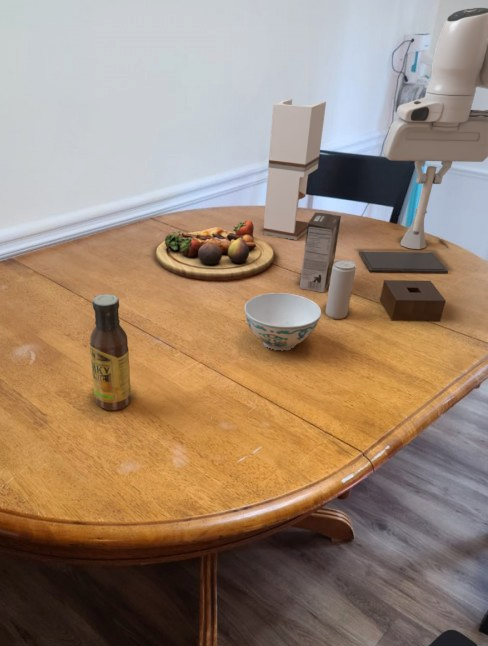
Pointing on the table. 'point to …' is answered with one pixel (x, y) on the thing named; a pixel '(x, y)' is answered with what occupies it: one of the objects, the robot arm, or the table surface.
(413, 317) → the stand
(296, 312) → the chinaware
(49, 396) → the table surface
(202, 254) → the wooden plate
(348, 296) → the beverage can
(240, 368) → the table surface
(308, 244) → the coffee box
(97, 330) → the sauce bottle
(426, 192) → the stylus
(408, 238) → the flask
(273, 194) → the coffee grinder
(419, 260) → the tablet
